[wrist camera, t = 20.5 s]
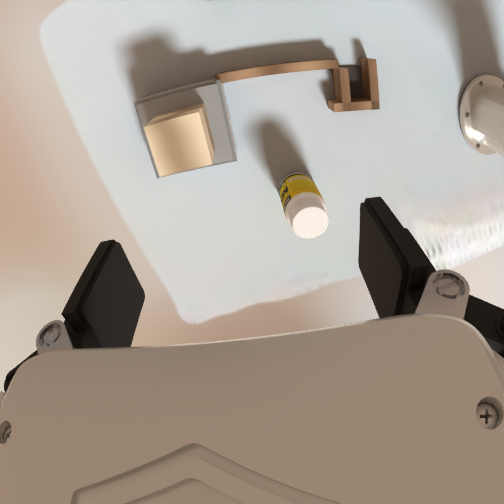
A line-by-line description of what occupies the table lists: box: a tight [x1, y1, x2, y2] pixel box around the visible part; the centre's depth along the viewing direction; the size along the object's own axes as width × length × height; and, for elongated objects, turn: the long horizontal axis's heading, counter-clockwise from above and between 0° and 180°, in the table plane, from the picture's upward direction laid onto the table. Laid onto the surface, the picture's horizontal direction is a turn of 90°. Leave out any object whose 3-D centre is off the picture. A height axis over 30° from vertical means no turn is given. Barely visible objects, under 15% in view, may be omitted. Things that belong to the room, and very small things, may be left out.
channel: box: [215, 58, 380, 112], centre depth 27 cm, size 18×16×2 cm
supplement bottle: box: [279, 172, 328, 238], centre depth 35 cm, size 5×5×8 cm
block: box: [144, 103, 215, 177], centre depth 27 cm, size 5×5×5 cm
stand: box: [134, 79, 237, 178], centre depth 31 cm, size 9×9×4 cm
